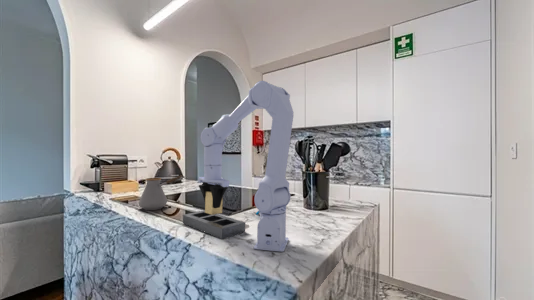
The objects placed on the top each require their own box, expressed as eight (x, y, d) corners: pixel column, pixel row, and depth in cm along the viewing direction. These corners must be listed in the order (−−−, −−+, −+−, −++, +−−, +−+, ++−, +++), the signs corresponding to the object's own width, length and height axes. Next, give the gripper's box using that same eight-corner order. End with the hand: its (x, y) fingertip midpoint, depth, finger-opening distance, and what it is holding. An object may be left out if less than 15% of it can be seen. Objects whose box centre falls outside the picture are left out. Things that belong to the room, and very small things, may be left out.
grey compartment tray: (245, 231, 79) (245, 222, 79) (221, 239, 72) (222, 228, 72) (205, 218, 94) (205, 210, 94) (182, 223, 87) (182, 214, 87)
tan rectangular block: (222, 212, 84) (222, 191, 84) (212, 214, 81) (212, 192, 81) (214, 210, 86) (215, 190, 86) (204, 212, 83) (205, 191, 84)
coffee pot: (132, 209, 106) (132, 174, 106) (152, 204, 117) (152, 172, 117) (174, 214, 99) (174, 176, 99) (191, 208, 110) (192, 173, 110)
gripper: (236, 165, 81) (236, 208, 81) (210, 163, 91) (210, 201, 91) (218, 166, 76) (218, 211, 76) (192, 164, 86) (192, 204, 86)
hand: (212, 206), depth 83 cm, fingers closed on tan rectangular block, 4 cm apart
